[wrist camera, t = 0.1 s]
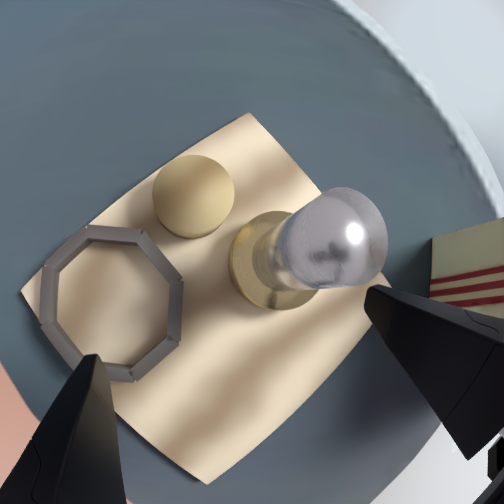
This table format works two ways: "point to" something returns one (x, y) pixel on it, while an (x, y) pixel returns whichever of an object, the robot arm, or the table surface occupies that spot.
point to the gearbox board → (196, 304)
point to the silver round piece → (308, 250)
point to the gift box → (470, 268)
